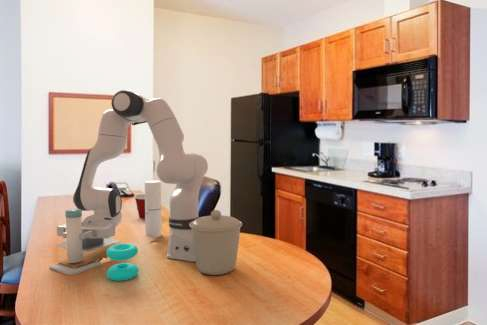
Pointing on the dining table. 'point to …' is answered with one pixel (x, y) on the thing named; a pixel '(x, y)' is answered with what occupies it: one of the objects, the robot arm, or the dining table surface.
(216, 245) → the canister
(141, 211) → the plastic cup
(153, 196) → the cylindrical container
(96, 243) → the grey square peg base
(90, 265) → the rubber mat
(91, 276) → the dining table surface
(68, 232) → the cylinder
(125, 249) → the donuts
